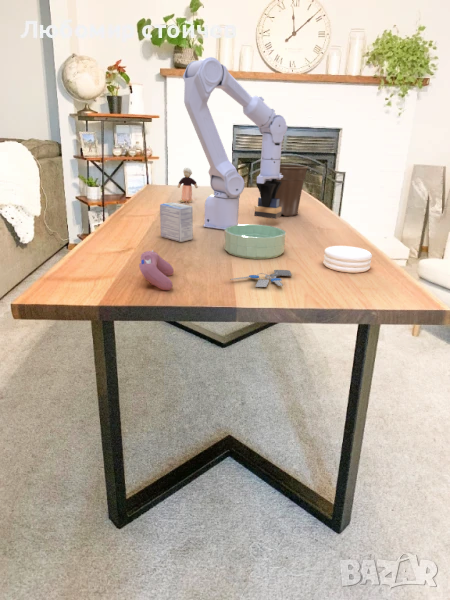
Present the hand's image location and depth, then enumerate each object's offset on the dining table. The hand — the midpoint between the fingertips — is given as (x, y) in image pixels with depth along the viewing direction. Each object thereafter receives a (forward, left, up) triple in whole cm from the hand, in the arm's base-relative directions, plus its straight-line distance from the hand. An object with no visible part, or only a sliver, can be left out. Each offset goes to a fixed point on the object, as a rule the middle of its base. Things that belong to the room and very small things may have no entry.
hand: (267, 205), depth 134 cm
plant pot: (-3, +20, -6) cm, 21 cm away
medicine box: (-12, -32, -6) cm, 35 cm away
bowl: (+10, -32, -6) cm, 34 cm away
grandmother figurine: (-41, +20, -6) cm, 46 cm away
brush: (0, 0, -3) cm, 3 cm away
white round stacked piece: (+32, -32, -6) cm, 46 cm away
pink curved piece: (+4, -63, -6) cm, 63 cm away
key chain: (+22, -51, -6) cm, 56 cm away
